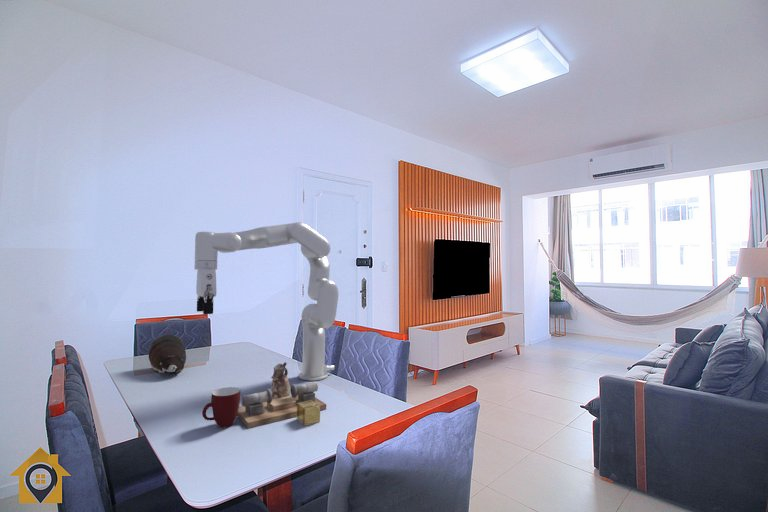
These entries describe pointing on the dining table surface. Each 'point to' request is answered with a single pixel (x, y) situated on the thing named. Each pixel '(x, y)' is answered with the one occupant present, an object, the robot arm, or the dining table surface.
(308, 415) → the block
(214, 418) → the mug
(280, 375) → the figurine
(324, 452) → the dining table surface
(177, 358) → the clay pot
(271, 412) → the shaft jig
